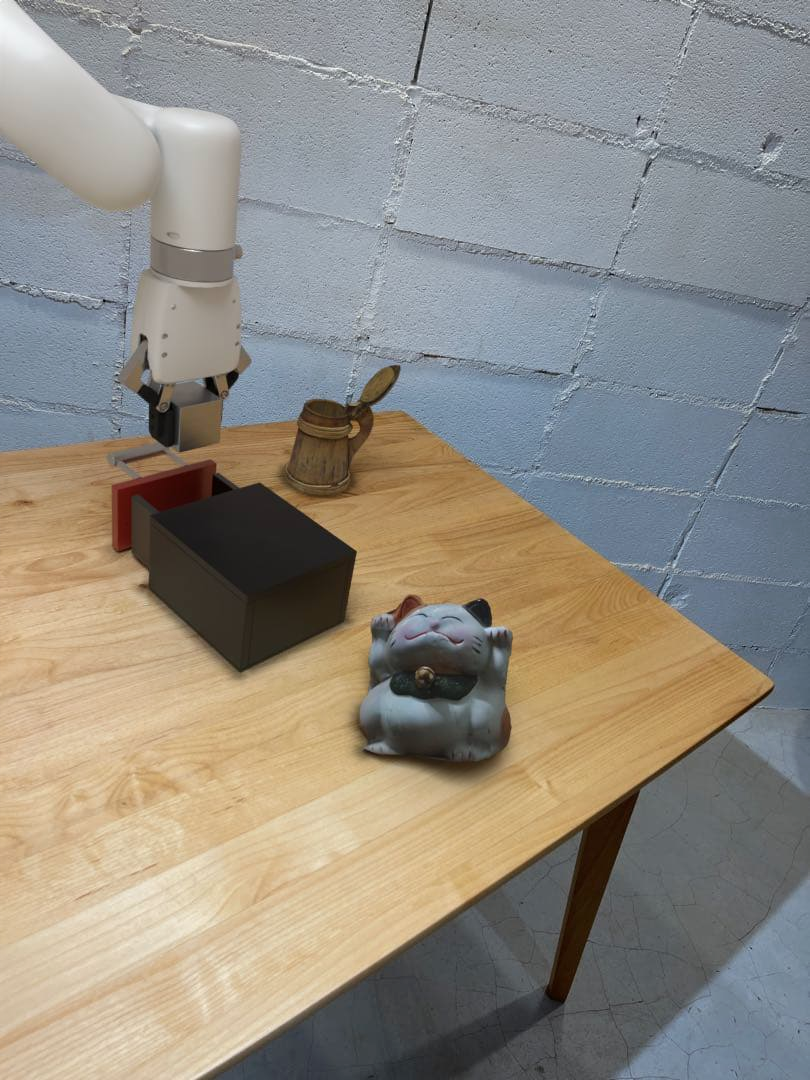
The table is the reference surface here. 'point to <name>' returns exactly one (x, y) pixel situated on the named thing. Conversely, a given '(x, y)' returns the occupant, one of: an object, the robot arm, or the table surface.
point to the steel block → (195, 417)
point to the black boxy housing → (249, 573)
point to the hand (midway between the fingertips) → (185, 434)
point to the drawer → (156, 494)
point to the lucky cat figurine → (437, 682)
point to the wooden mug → (334, 437)
